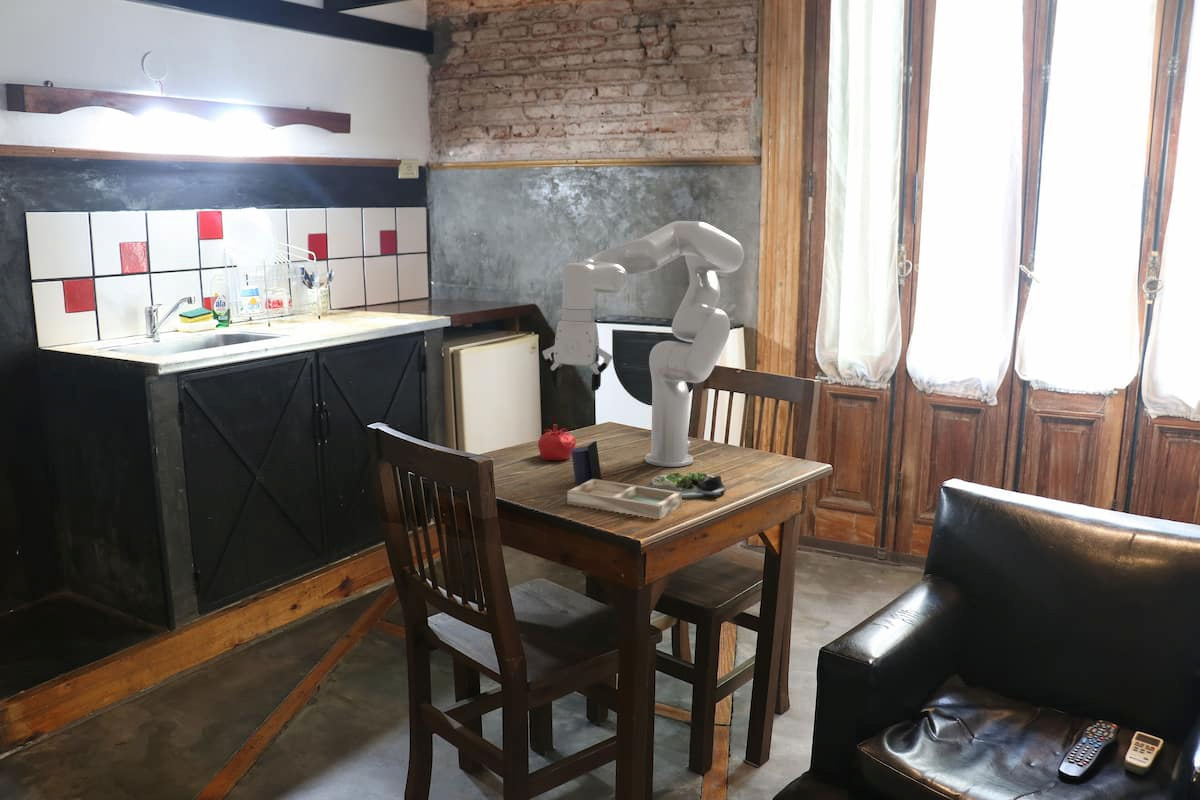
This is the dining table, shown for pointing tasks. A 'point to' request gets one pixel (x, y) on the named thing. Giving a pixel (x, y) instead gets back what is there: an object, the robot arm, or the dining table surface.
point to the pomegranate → (556, 445)
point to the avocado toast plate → (690, 484)
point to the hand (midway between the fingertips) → (576, 388)
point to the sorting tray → (625, 498)
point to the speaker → (586, 463)
